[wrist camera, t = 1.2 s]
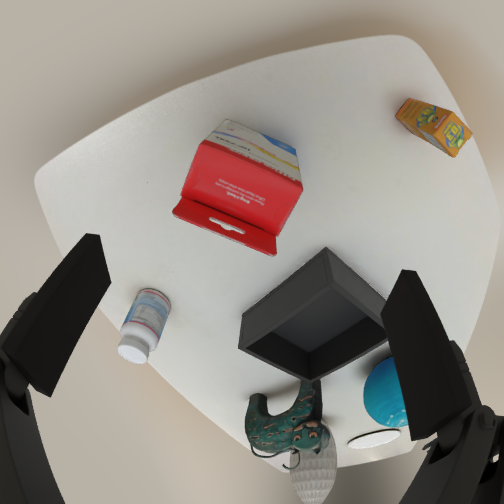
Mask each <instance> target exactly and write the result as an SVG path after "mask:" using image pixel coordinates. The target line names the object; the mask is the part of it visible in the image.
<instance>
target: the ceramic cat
mask: <svg viewBox="0 0 504 504" xmlns="http://www.w3.org/2000/svg"><path fill="white" fill-rule="evenodd" d="M322 408H323V403H322V392H321V381H320V380H319V379H318V380H316V381H314V382H312V383H308V382H306V381H304V380H301V386H300V390H299V394H298V396H297V398H296V400H295V402H294V404H293V406H292V407H291V408H290V409H289V410H287V411H285V412H283V413H281V414H279V415H276V416H272V415H270V414H269V413H268V408H267V397H266V396H264V395H262V394H254V395H252V396H251V397H250V401H249V406H248V409H247V413H246V416H245V433H246V435H247V438H248V440H249V442H250V445H251V450H252V452H253V454H254V455H255V456H258V457H261V458H271V457H274V456H277V455H278V454H281V453H284V452H289V451H291V450H293V451H294V452H293V453H292V454H297V453H298V455H299V461H298V463H297V465H296V466H294V467H293V468H288V467H286V466H285V465H284V464H283V467H284V468H285V469H289V470H291V469H295V468H296V467H298V465H299V464H300V452H306V453H316V454H318V453H319V452H321V451H323V450H324V449H325V448H327V446H328V445H329V442H330V432H329V430H328V428H327V427H326V426H325V425H324V424H322V423H321V420H322ZM252 446H253V447H255V448H256V449H258V450H260V451H264V452H267V453H276V454H274V455H272V456H261V455H258V454H256V453H255V452H254V450H253V447H252Z"/></svg>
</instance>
